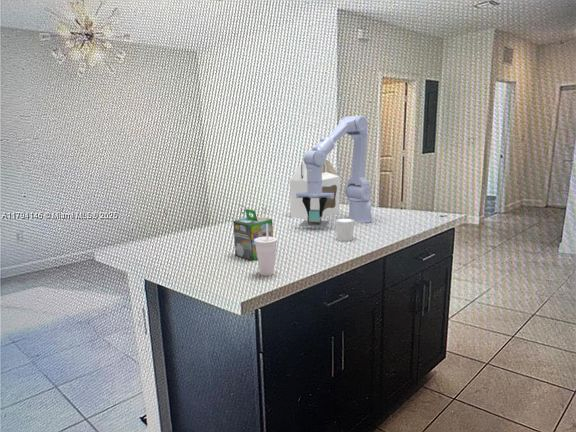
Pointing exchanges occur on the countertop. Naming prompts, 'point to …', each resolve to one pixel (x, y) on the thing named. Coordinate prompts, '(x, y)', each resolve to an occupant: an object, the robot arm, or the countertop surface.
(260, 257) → the smoothie
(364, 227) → the countertop surface
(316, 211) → the teal cube
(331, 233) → the countertop surface
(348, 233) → the white cylinder
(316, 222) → the walnut block
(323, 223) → the build mat
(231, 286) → the countertop surface
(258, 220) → the green carry carton
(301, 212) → the gable box
